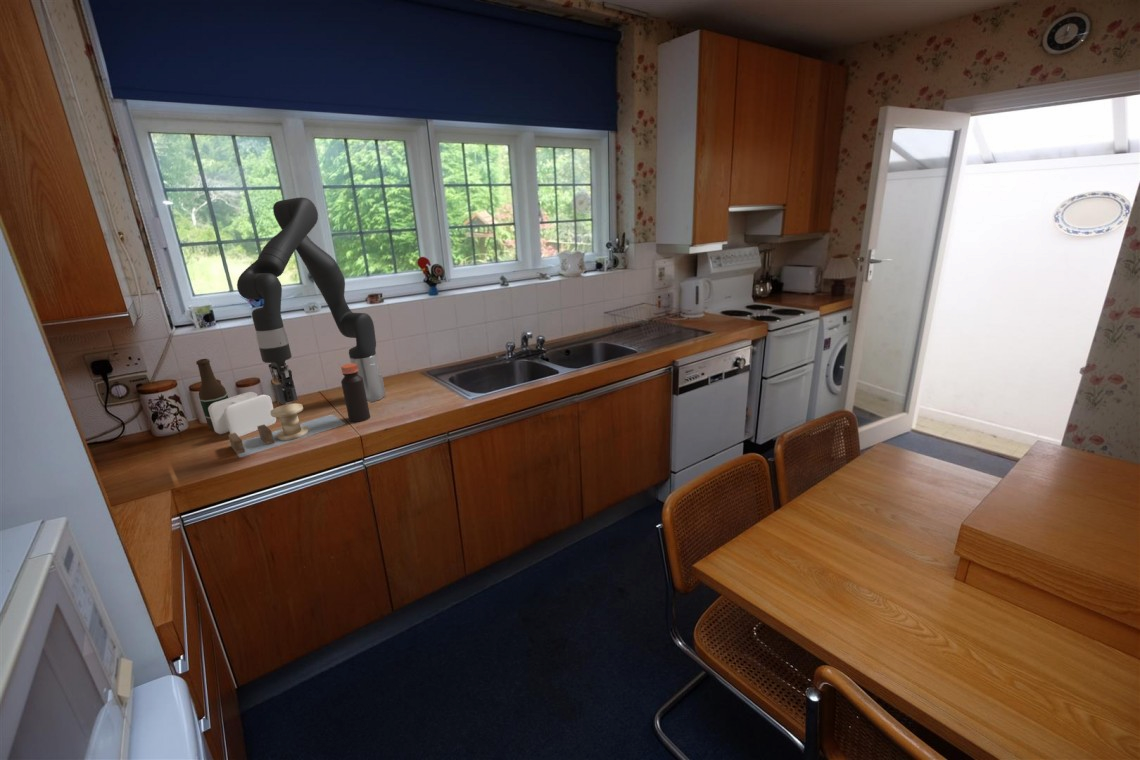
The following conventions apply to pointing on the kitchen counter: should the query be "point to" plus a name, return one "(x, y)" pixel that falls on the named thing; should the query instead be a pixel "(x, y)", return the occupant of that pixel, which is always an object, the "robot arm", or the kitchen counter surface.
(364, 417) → the vinegar
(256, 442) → the winding board
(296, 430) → the bobbin
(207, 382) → the beer bottle
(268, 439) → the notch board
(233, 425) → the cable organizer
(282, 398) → the dark grey upright block
